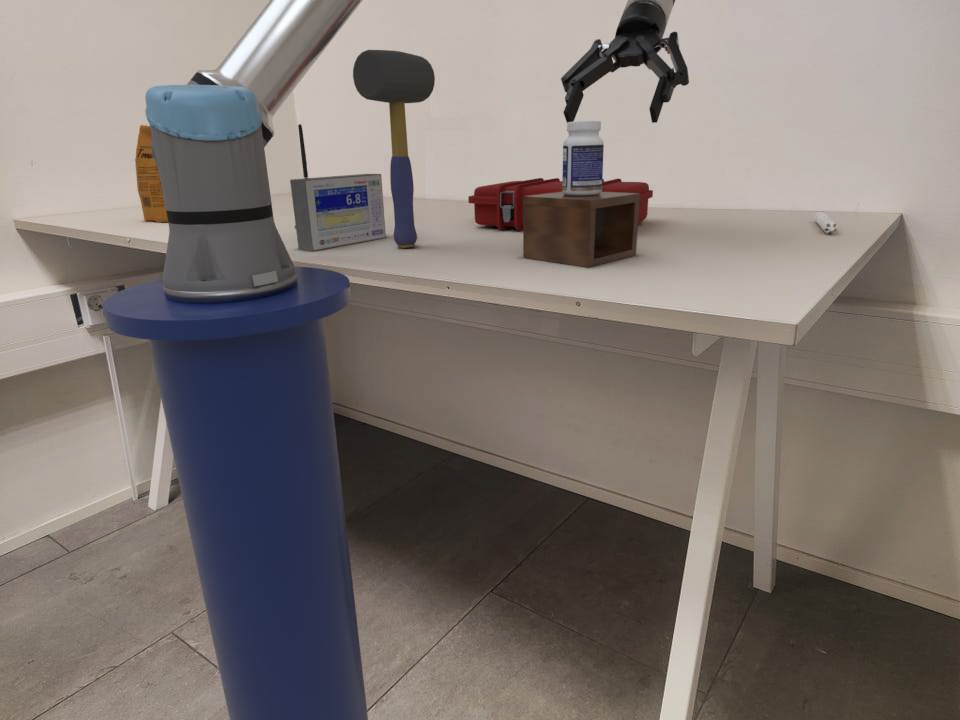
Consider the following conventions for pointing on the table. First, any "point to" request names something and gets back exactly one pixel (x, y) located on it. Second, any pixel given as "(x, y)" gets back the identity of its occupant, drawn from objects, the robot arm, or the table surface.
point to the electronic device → (336, 208)
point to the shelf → (580, 227)
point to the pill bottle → (583, 159)
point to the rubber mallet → (396, 120)
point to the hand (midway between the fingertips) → (608, 117)
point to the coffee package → (149, 179)
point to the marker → (825, 222)
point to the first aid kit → (506, 199)
